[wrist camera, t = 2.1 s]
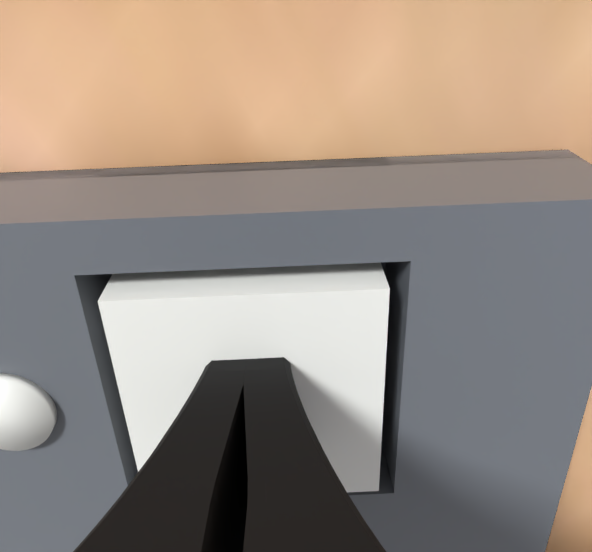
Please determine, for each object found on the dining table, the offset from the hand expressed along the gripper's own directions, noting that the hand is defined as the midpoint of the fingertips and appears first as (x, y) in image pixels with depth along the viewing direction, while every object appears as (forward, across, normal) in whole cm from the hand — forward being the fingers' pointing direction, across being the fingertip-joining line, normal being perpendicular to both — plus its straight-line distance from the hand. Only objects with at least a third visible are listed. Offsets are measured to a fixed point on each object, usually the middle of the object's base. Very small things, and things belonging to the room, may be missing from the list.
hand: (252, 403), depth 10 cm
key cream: (+2, 0, 0) cm, 2 cm away
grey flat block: (+3, 0, +8) cm, 8 cm away
